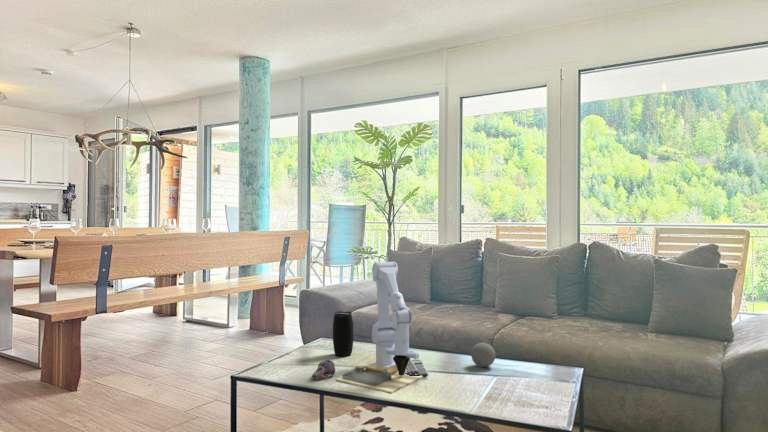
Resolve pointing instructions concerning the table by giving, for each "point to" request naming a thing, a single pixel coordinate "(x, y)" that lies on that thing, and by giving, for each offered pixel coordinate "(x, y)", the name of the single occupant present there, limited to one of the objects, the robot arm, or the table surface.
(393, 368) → the loose leaf
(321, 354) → the table surface
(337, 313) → the portable speaker
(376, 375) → the fixed leaf
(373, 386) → the board
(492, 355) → the decorative ball
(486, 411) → the table surface
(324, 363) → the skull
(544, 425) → the table surface
